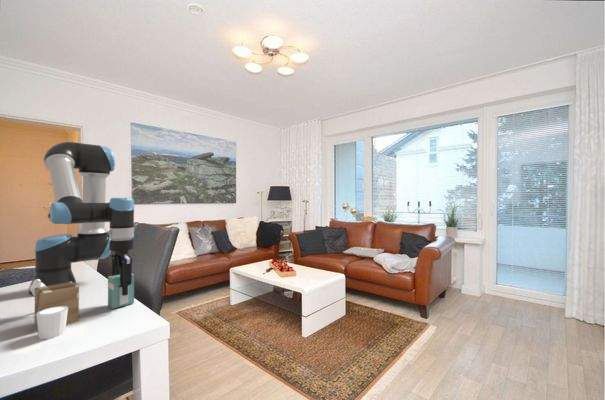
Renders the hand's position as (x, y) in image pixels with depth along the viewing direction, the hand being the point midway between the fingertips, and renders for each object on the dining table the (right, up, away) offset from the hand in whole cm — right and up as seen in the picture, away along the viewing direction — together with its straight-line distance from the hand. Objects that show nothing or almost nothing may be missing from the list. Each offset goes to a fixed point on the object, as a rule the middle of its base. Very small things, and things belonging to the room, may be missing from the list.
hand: (121, 301), depth 101 cm
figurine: (-23, -1, -8) cm, 24 cm away
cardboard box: (-11, -1, -14) cm, 18 cm away
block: (0, -1, 0) cm, 1 cm away
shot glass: (-5, -1, -22) cm, 23 cm away
